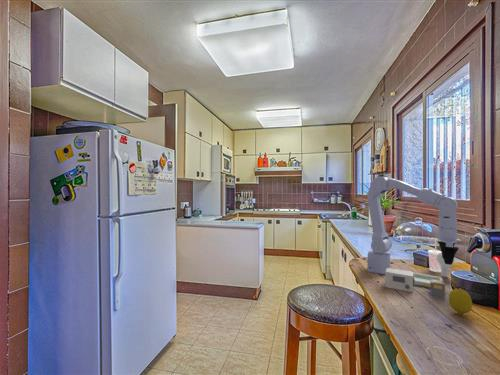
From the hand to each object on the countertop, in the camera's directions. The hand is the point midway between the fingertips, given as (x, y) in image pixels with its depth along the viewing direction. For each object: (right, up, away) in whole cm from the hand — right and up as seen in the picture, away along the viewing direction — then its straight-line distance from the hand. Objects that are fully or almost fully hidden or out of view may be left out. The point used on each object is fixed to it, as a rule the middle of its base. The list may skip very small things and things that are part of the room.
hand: (447, 261), depth 99 cm
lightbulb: (+7, -10, +10) cm, 16 cm away
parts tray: (-6, -10, +4) cm, 12 cm away
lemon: (-13, -10, -22) cm, 27 cm away
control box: (-19, -10, -1) cm, 22 cm away
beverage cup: (+9, -10, +19) cm, 23 cm away
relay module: (-10, -10, -8) cm, 16 cm away
